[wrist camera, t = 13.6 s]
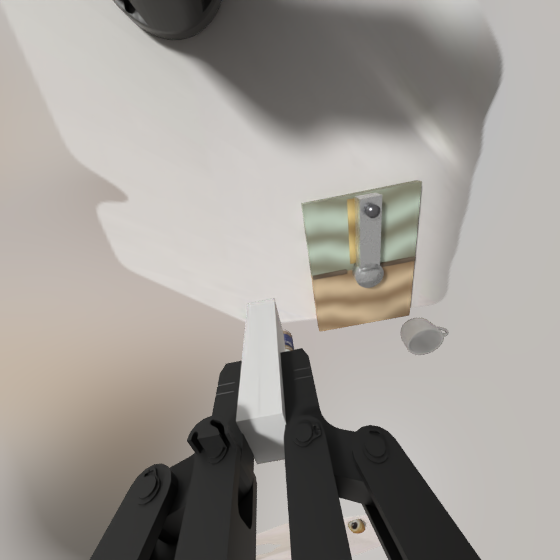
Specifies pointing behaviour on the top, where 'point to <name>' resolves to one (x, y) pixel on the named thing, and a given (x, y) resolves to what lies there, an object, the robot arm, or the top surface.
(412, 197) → the door board
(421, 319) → the teacup
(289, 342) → the pill bottle
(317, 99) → the top surface
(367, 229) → the latch arm
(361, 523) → the pastry
